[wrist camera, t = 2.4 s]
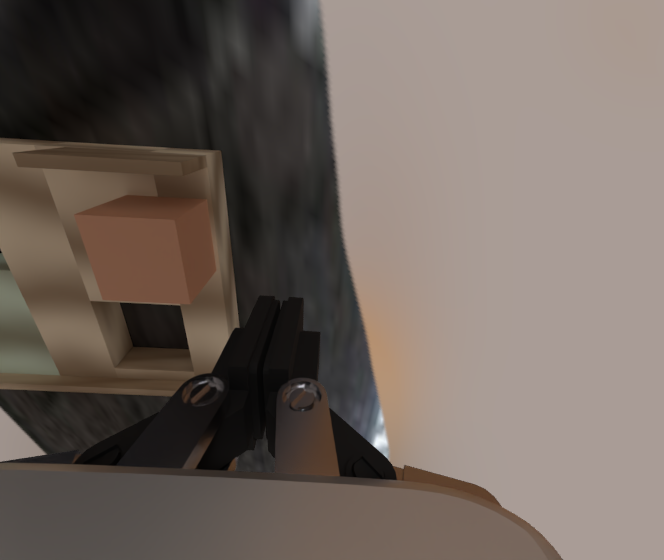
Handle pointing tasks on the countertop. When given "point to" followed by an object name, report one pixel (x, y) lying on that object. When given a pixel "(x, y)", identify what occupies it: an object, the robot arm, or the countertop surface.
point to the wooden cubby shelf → (77, 275)
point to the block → (149, 248)
